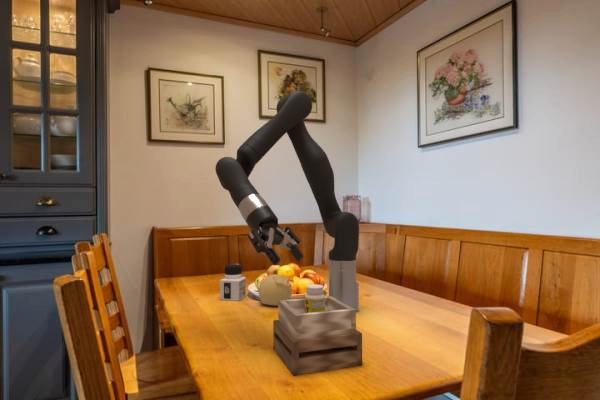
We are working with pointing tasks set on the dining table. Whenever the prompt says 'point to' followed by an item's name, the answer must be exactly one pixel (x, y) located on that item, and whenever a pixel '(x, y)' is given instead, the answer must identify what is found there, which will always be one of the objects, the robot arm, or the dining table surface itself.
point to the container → (233, 283)
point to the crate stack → (316, 337)
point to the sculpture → (275, 289)
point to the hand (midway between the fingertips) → (289, 261)
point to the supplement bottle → (314, 299)
